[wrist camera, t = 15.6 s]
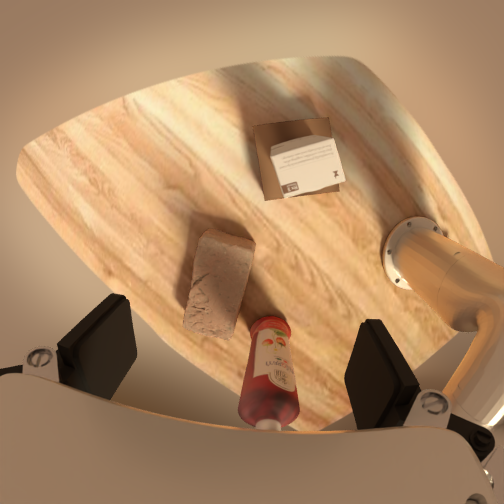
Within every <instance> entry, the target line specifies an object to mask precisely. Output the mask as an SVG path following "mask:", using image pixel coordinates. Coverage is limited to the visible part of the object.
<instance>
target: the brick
mask: <svg viewBox="0 0 504 504" xmlns="http://www.w3.org/2000/svg"><path fill="white" fill-rule="evenodd" d="M255 246H256V243H255V242H253V241H251V240H248V239H247V238H245V237H237V236H234V235H230V234H227V233H225V232H223V231H220V230H216V229H208V230H206V231H205V232H204V233H203V235H202V236H201V237H200V238H199V241H198V246H197V249H196V254H195V258H194V264H193V272H192V280H191V288H190V291H189V296H188V300H187V305H186V308H185V314H184V320H183V327H184V328H185V329H187V330H190V331H193V332H194V333H198V334H202V335H205V336H209V337H216V338H221V339H224V340H230V339H231V337H232V336H233V333H234V329H235V325H236V322H237V318H238V314H239V310H240V307H241V303H242V299H243V296H244V292H245V289H246V285H247V282H248V277H249V273H250V269H251V265H252V261H253V257H254V251H255Z"/></svg>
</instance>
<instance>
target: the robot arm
mask: <svg viewBox="0 0 504 504" xmlns="http://www.w3.org/2000/svg"><path fill="white" fill-rule="evenodd" d="M407 223H408V225H407ZM388 250H389V251H388ZM387 251H388V252H387ZM382 260H383V267H384V271H385V273H386V275H387V277H388V278H389V279H390V280H391V282H392V283H393V284H394V285H396V286H398V287H399V288H402V289H407V290H412V289H413V290H414V291H415V292H416V293H417V294H418V295H419V296H420V297H421V298H422V299H423V300H424V301H425V302H426V303H427V304H428V305H429V306H430V307H431V308H432V309H433V311H434V312H435V313H436V314H437V315H438V316H439V317H440V318H441V319H442V320H443V321H444V322H445V323H446V324H447V325H448V326H449V327H451V328H452V329H454V330H456V331H459V332H476V331H477V333H476V335H475V337H474V339H473V341H472V343H471V345H470V348H469V350H468V351H467V353H466V355H465V357H464V358H463V360H462V361H461V363H460V365H459V366H458V368H457V370H456V371H455V372H454V374H453V376H452V377H451V379H450V380H449V382H448V383H447V385H446V387H445V388H444V390H443V391H442V392H440V391H437V390H434V389H427V390H424V391H421V389H420V387H419V383H418V381H417V379H416V378H415V376H414V374H413V372H412V370H411V369H410V367H409V365H408V363H407V362H406V360H405V358H404V357H403V355H402V353H401V352H400V350H399V348H398V347H397V345H396V343H395V342H394V340H393V338H392V337H391V335H390V334H389V332H388V330H387V329H386V327H385V326H384V324H383V322H382V321H381V320H380V319H367V320H366V321H365V323H361V325H360V328H359V331H358V335H357V338H356V341H355V345H354V348H353V351H352V354H351V357H350V360H349V363H348V366H347V369H346V372H345V377H344V380H345V385H346V388H347V392H348V395H349V399H350V402H351V406H352V410H353V413H354V417H355V421H356V424H357V429H358V430H347V431H346V430H345V431H276V430H261V429H249V428H239V427H230V426H221V425H214V424H208V423H202V422H196V421H190V420H185V419H180V418H175V417H170V416H166V415H161V414H157V413H153V412H149V411H145V410H141V409H137V408H134V407H130V406H127V405H123V404H120V403H117V402H113V401H110V399H111V398H112V396H113V394H114V393H115V391H116V390H117V388H118V387H119V385H120V383H121V382H122V380H123V378H124V377H125V375H126V374H127V372H128V371H129V369H130V368H131V366H132V364H133V363H134V361H135V360H136V358H137V348H136V342H135V336H134V330H133V323H132V317H131V309H130V302H129V300H128V299H126V297H125V296H124V295H120V294H114V293H112V294H110V295H109V296H108V297H107V298H106V299H104V300H103V301H102V302H101V303H100V304H99V305H98V306H97V307H96V308H94V309H93V310H92V311H91V312H90V313H89V314H88V315H87V316H86V317H85V318H83V319H82V320H81V321H80V322H79V323H78V324H77V325H76V326H75V327H74V328H73V329H72V330H71V331H70V332H69V333H68V334H67V335H66V336H64V337H63V338H62V339H61V341H59V342H58V343H57V346H58V350H57V351H55V350H54V349H53V348H51V347H47V346H39V347H35V348H33V349H31V350H30V351H28V352H27V353H26V355H25V356H24V359H23V365H18V366H13V367H8V368H3V369H0V504H504V267H502V266H500V265H498V264H496V263H494V262H492V261H490V260H488V259H487V258H485V257H483V256H481V255H479V254H477V253H476V252H474V251H472V250H470V249H468V248H466V247H464V246H462V245H460V244H458V243H456V242H454V241H452V240H450V239H448V238H446V237H444V236H443V233H442V231H441V229H440V228H439V226H438V225H437V224H436V223H435V222H433V221H432V220H430V219H428V218H425V217H421V216H414V217H410V218H407V219H405V220H403V221H401V222H400V223H399V224H398V225H396V226H395V228H394V229H393V230H392V231H391V233H390V234H389V236H388V237H387V240H386V242H385V245H384V249H383V257H382Z"/></svg>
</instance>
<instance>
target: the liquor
mask: <svg viewBox="0 0 504 504" xmlns="http://www.w3.org/2000/svg"><path fill="white" fill-rule="evenodd" d="M250 336H251V339H252V342H251V348H250V353H249V359H248V364H247V368H246V372H245V376H244V381H243V386H242V391H241V396H240V401H239V406H238V413H239V416H240V417H241V419H242V420H244V421H245V422H246V423H248V424H250V425H252V426H254V427H256V429H261V430H276V431H281V427H283V426H286V425H288V424H290V423H292V422H293V421H294V420H295V419H296V418H297V417H298V415H299V412H300V408H299V401H298V394H297V387H296V380H295V375H294V369H293V364H292V358H291V351H290V344H289V339H290V336H291V329H290V327H289V325H288V323H287V322H285V321H284V320H283V319H281V318H278V317H274V316H268V317H263V318H261V319H259V320H257V321H256V322H255V323H254V324H253V325H252V327H251V330H250Z"/></svg>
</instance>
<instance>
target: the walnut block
mask: <svg viewBox="0 0 504 504" xmlns="http://www.w3.org/2000/svg"><path fill="white" fill-rule="evenodd" d="M253 131H254V137H255V143H256V149H257V155H258V161H259V167H260V173H261V180H262V186H263V192H264V199H265V201H267V200H274V199H282V198H284V197H283V194H282V191H281V188H280V185H279V182H278V179H277V176H276V173H275V170H274V167H273V164H272V161H271V158H270V154H271V147H272V146H274V145H277V144H280V143H283V142H286V141H290V140H293V139H297V138H301V137H305V136H310V135H318V136H325V137H330V138H332V134H331V128H330V122H329V117H328V118H315V119H305V120H295V121H286V122H278V123H271V124H264V125H257V126H253ZM330 192H339V183H338V184H334V185H331V186H327V187H324V188H322V189H320V190H316V191H312V192H305V193H302V194H298V195H295V196H291V197H297V196H304V195H313V194H321V193H330ZM288 198H289V197H288Z"/></svg>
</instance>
